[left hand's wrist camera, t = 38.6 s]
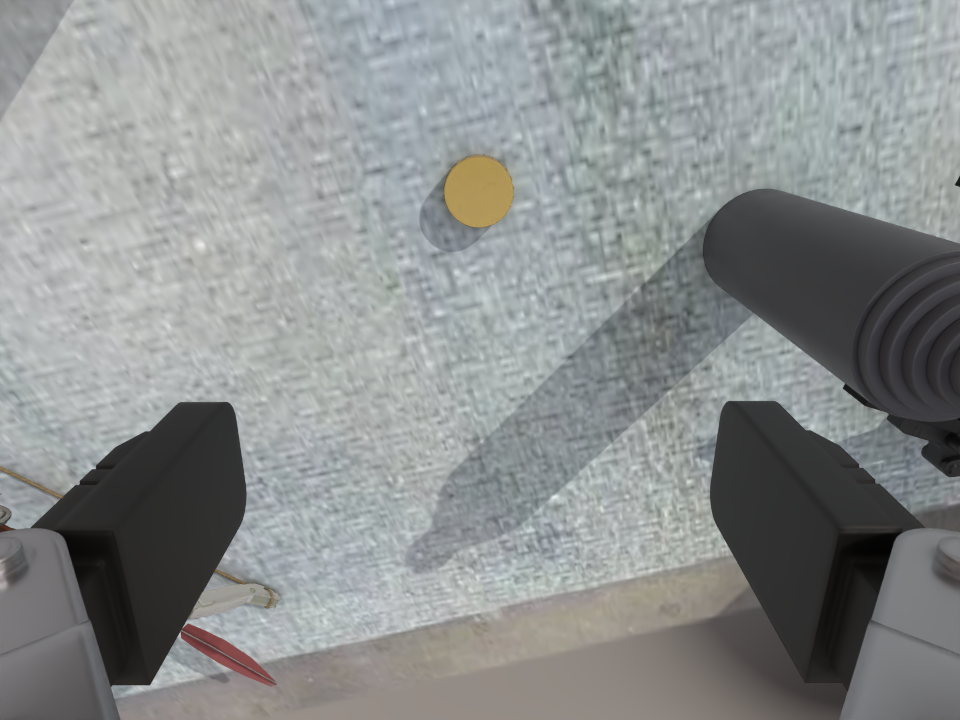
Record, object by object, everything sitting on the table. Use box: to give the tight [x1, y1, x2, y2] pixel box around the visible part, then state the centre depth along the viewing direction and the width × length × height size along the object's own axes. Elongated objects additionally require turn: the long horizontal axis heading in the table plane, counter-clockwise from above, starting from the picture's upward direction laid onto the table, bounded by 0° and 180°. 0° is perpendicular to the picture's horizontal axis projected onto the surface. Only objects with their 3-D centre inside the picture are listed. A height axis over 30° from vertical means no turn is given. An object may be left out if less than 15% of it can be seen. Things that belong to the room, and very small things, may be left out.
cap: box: [444, 154, 514, 228], centre depth 43 cm, size 4×4×2 cm
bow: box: [0, 467, 281, 687], centre depth 48 cm, size 39×2×10 cm, turn 58°
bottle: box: [703, 189, 960, 422], centre depth 34 cm, size 7×7×25 cm
